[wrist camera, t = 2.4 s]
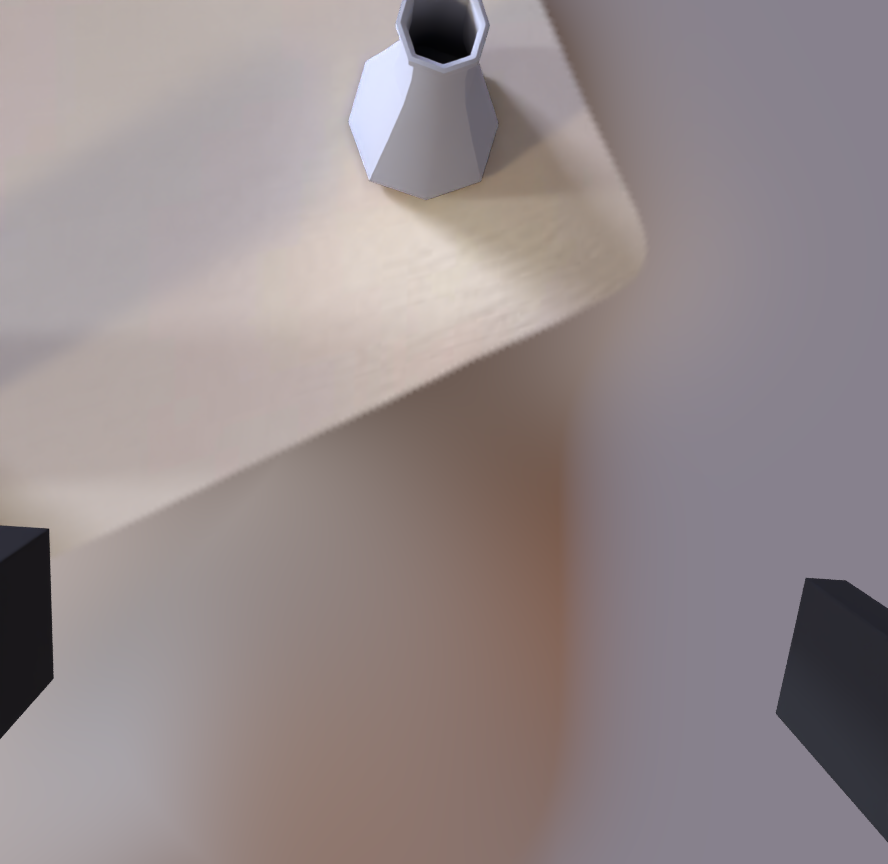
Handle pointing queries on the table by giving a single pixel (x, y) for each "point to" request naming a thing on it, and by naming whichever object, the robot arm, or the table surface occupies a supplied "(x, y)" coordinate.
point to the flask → (427, 101)
